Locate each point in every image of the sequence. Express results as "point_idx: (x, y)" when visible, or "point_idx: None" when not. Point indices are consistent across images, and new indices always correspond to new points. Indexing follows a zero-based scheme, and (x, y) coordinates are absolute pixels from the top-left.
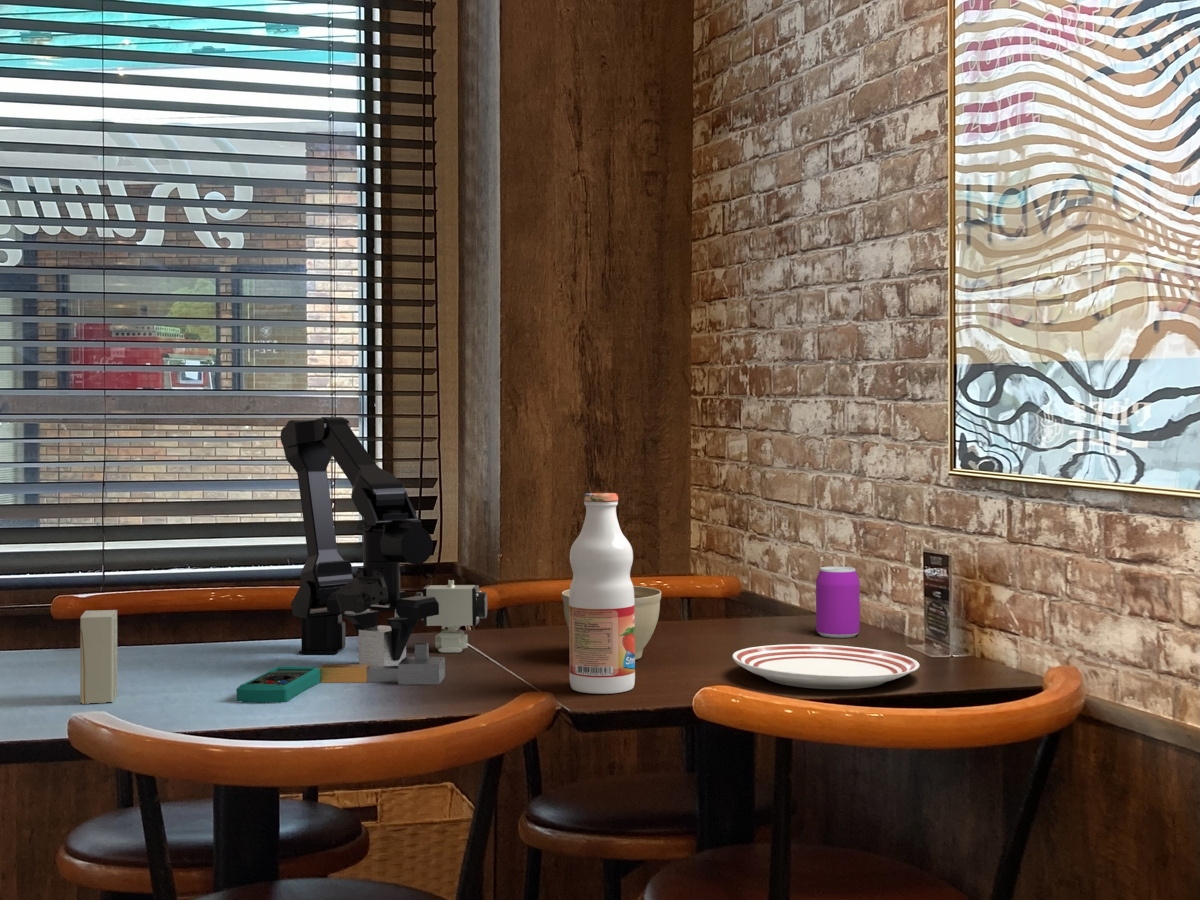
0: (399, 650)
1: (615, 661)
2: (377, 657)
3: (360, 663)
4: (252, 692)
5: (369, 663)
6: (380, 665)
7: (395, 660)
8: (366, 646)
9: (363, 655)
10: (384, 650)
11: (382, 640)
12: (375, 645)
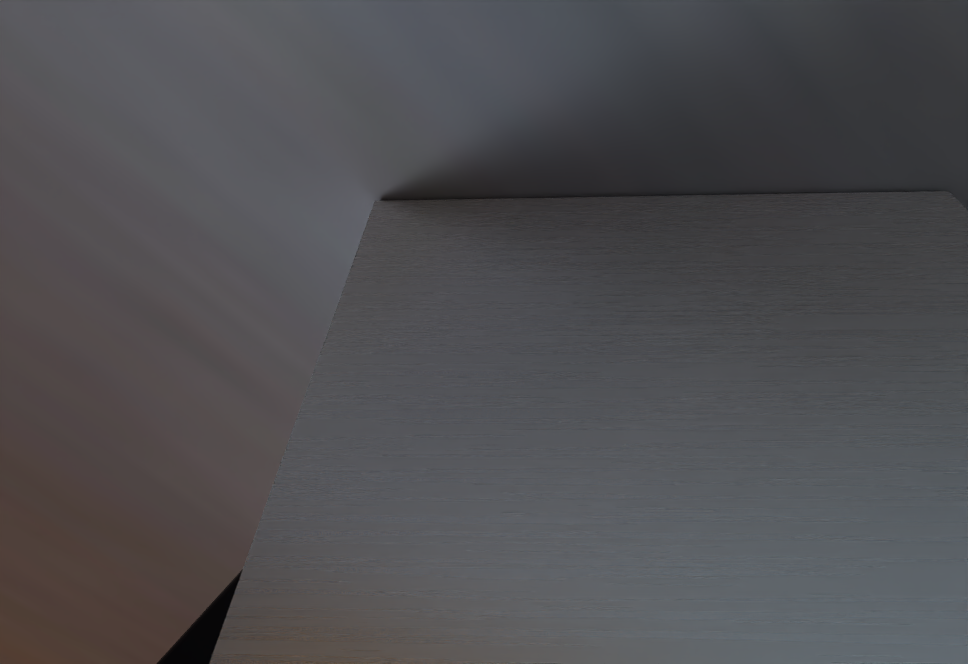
0: None
1: None
2: (524, 316)
3: (945, 226)
4: None
5: (726, 244)
6: (454, 239)
7: None
8: (919, 460)
9: (933, 318)
10: (300, 431)
11: (293, 643)
12: (585, 497)
